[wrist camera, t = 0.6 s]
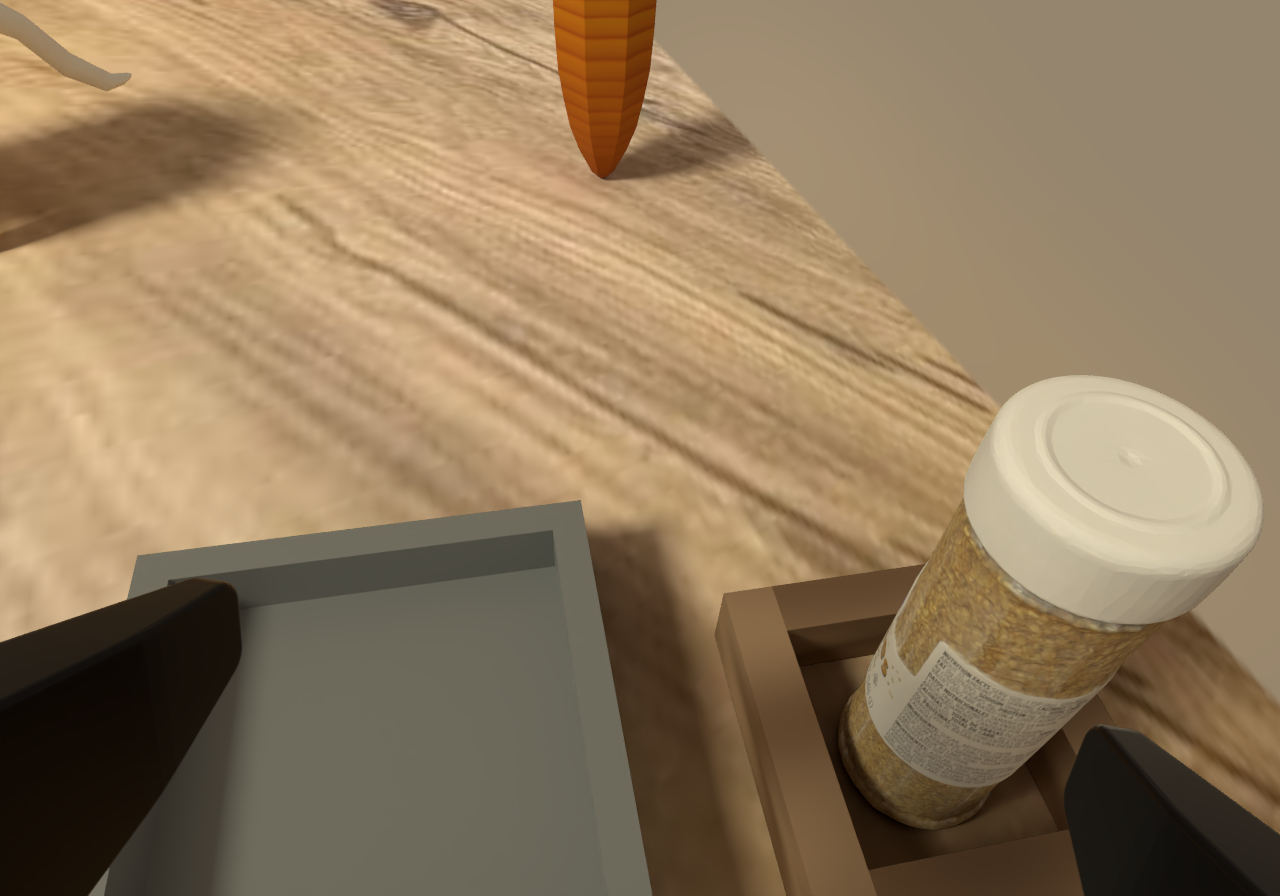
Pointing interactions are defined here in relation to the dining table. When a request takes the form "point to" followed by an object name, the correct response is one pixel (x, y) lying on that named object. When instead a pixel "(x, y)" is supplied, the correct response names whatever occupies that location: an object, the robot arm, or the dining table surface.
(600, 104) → the carrot
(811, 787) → the holder collar
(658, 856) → the dining table surface
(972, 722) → the sprinkles bottle
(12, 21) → the cat figurine
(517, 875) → the tray
